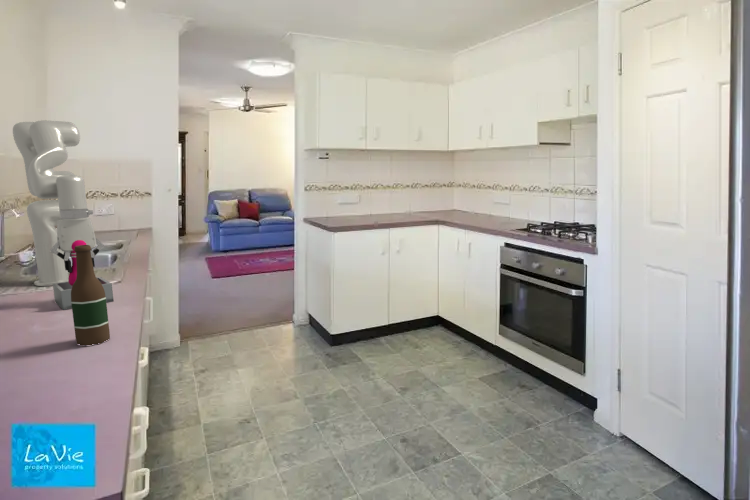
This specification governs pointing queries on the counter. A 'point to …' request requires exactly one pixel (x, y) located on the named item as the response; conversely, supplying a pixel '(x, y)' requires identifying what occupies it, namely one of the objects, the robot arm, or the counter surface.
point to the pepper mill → (74, 262)
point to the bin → (64, 293)
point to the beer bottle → (88, 302)
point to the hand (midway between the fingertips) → (80, 270)
